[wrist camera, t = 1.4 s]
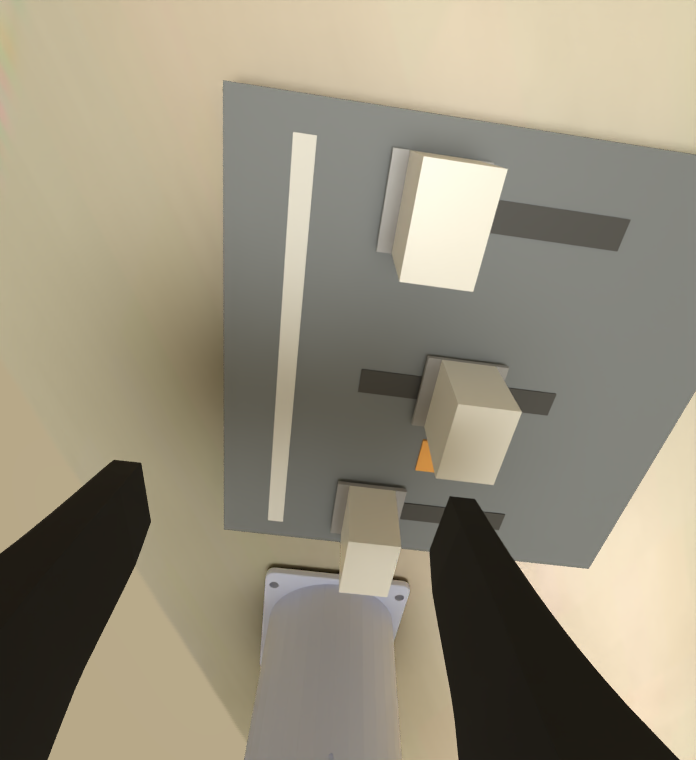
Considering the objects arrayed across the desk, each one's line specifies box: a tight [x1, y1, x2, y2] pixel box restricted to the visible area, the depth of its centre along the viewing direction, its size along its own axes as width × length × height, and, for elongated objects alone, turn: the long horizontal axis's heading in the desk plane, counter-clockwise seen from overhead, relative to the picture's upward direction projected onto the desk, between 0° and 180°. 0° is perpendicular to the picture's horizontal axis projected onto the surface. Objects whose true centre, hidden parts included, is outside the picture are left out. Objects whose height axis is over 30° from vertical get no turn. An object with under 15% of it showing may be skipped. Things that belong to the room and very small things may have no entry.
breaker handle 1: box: [330, 481, 407, 597], centre depth 19 cm, size 3×3×3 cm
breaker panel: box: [223, 80, 696, 569], centre depth 18 cm, size 18×18×2 cm
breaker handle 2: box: [376, 147, 508, 292], centre depth 13 cm, size 3×3×3 cm
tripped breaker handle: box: [411, 355, 522, 485], centre depth 16 cm, size 3×3×3 cm
